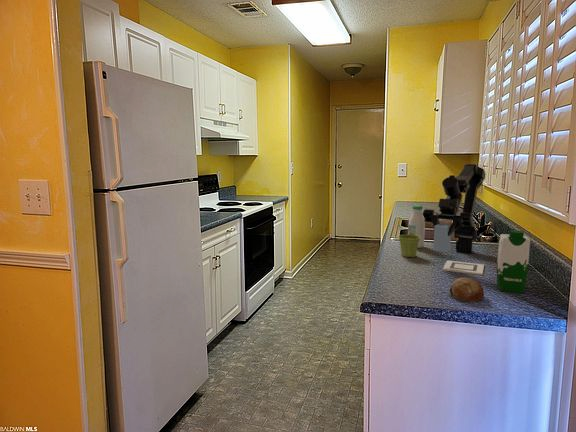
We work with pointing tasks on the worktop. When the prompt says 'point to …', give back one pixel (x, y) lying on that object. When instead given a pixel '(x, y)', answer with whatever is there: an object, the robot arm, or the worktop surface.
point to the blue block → (442, 238)
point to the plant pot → (409, 245)
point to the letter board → (464, 267)
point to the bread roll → (466, 290)
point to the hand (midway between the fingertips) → (441, 234)
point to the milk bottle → (417, 224)
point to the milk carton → (513, 262)
